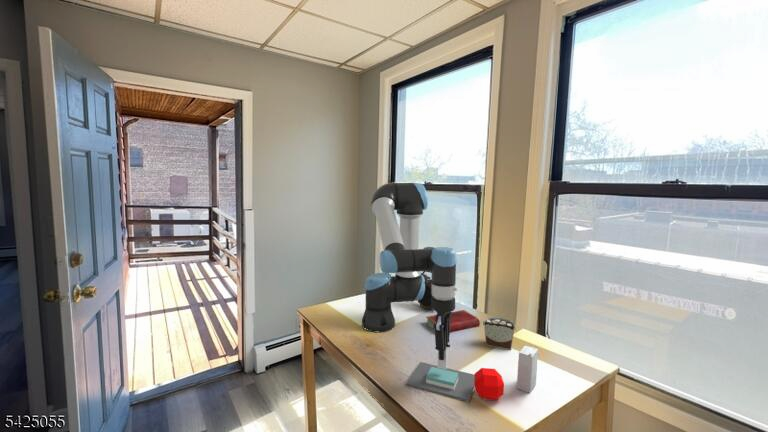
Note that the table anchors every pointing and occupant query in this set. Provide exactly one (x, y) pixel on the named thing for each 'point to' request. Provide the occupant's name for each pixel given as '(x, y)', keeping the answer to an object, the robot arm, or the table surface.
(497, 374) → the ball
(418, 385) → the mat
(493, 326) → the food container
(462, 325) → the hardcover book
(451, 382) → the tile
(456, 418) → the table surface
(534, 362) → the skincare box
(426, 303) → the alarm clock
